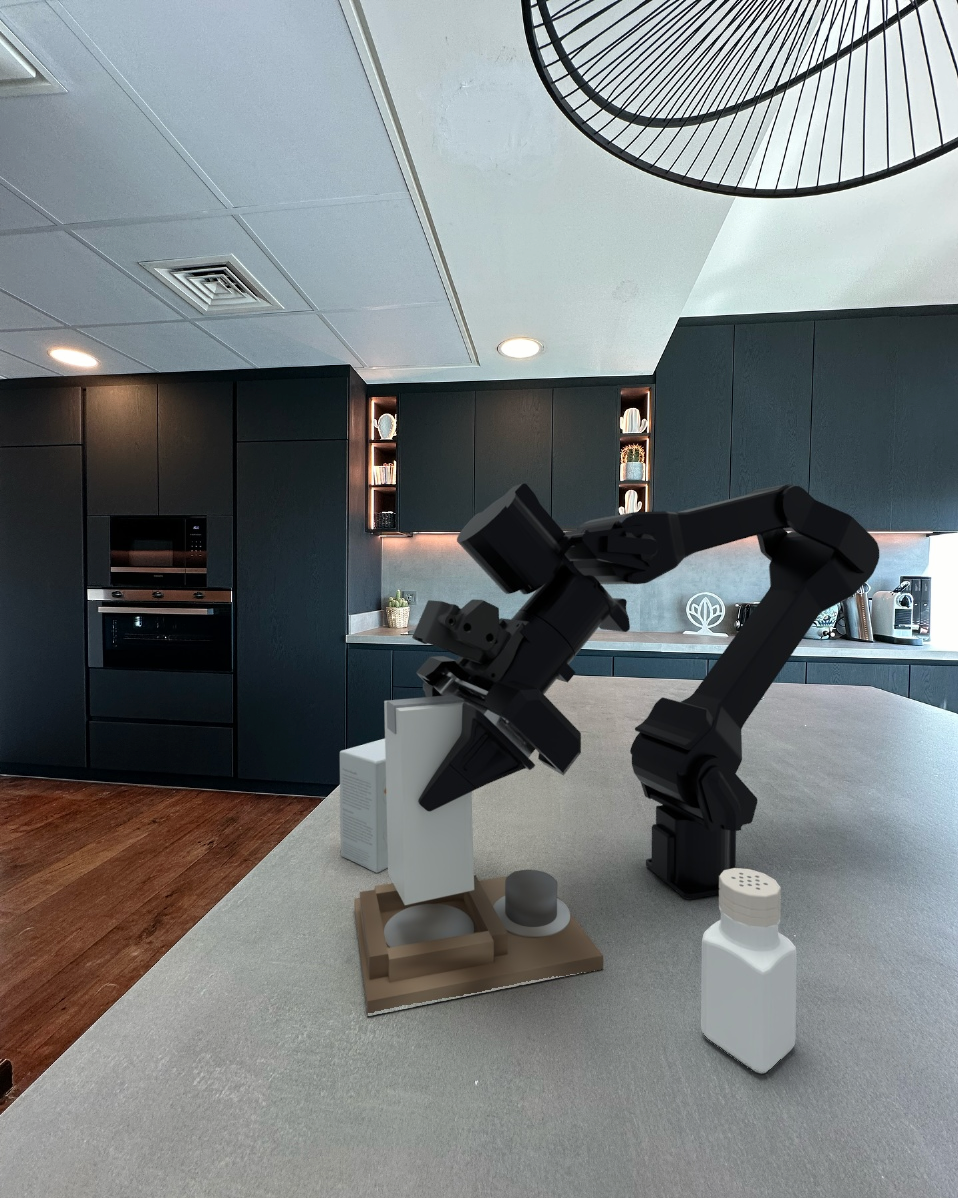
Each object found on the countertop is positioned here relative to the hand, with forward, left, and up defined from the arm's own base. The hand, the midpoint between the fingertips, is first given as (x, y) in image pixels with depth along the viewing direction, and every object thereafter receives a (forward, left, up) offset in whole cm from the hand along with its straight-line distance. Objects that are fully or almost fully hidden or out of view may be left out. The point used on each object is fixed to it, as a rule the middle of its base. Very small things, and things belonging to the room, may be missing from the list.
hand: (411, 793), depth 42 cm
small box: (0, -16, -12) cm, 20 cm away
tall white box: (-1, 0, -6) cm, 7 cm away
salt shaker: (-17, +14, -12) cm, 25 cm away
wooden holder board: (-4, 0, -11) cm, 12 cm away
